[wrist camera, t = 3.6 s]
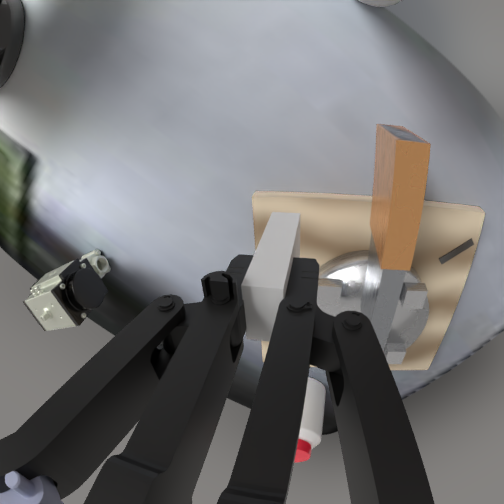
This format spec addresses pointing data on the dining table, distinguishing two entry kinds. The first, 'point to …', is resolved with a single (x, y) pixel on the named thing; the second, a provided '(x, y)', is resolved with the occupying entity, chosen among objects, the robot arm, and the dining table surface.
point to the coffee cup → (380, 2)
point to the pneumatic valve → (69, 292)
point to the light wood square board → (358, 238)
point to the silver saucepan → (386, 249)
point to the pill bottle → (311, 420)
